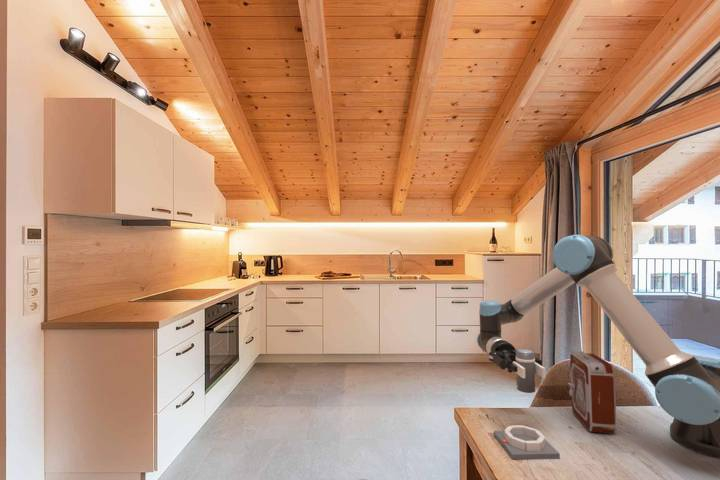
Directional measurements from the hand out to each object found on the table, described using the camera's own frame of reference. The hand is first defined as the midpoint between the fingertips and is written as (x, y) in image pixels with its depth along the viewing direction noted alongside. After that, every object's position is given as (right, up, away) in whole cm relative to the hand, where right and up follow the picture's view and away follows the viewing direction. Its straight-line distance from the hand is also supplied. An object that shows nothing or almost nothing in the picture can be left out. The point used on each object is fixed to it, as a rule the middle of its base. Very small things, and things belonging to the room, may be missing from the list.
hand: (533, 373), depth 100 cm
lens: (0, -7, +5) cm, 8 cm away
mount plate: (-5, -18, -5) cm, 19 cm away
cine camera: (+22, -18, +10) cm, 30 cm away
